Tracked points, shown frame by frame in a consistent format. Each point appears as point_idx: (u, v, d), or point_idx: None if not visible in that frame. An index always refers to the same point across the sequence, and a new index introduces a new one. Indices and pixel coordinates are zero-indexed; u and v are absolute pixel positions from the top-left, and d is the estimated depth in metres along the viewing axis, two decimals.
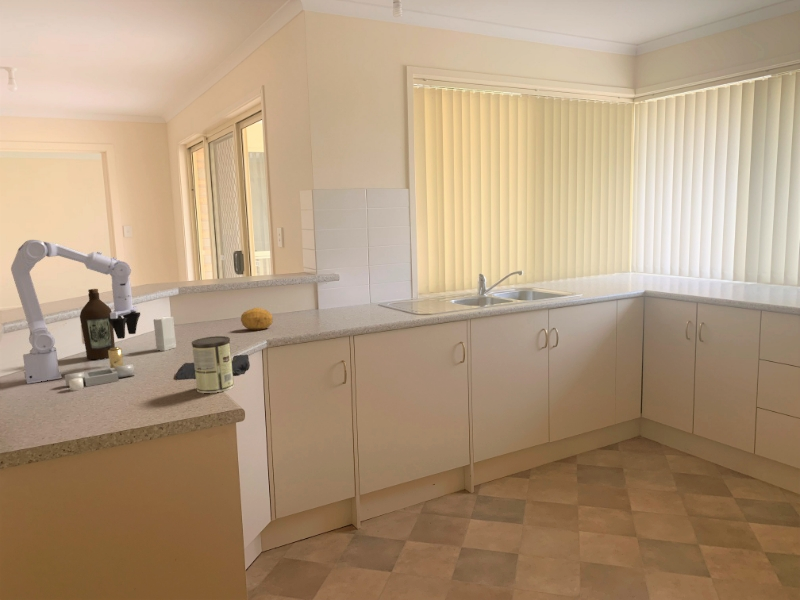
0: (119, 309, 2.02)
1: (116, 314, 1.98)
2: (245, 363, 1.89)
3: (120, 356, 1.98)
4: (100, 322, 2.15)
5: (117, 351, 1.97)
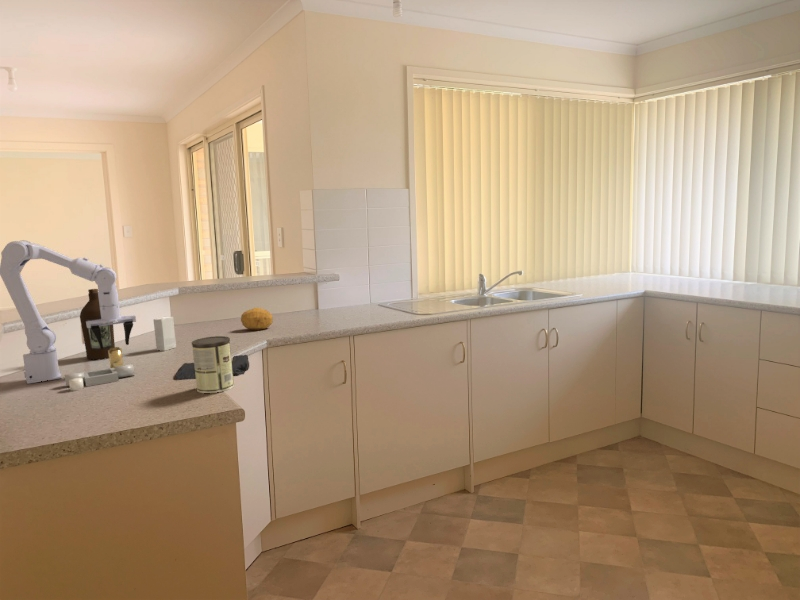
0: (101, 318, 1.95)
1: (88, 324, 1.93)
2: (244, 363, 1.89)
3: (120, 356, 1.98)
4: None
5: (117, 351, 1.97)
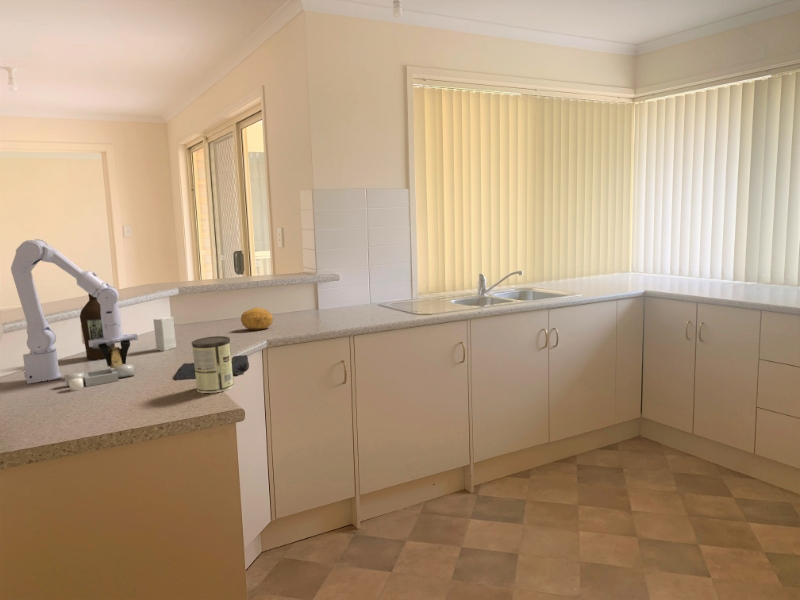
0: None
1: (90, 342, 1.94)
2: (244, 364, 1.89)
3: (120, 356, 1.98)
4: (100, 322, 2.15)
5: (117, 351, 1.97)
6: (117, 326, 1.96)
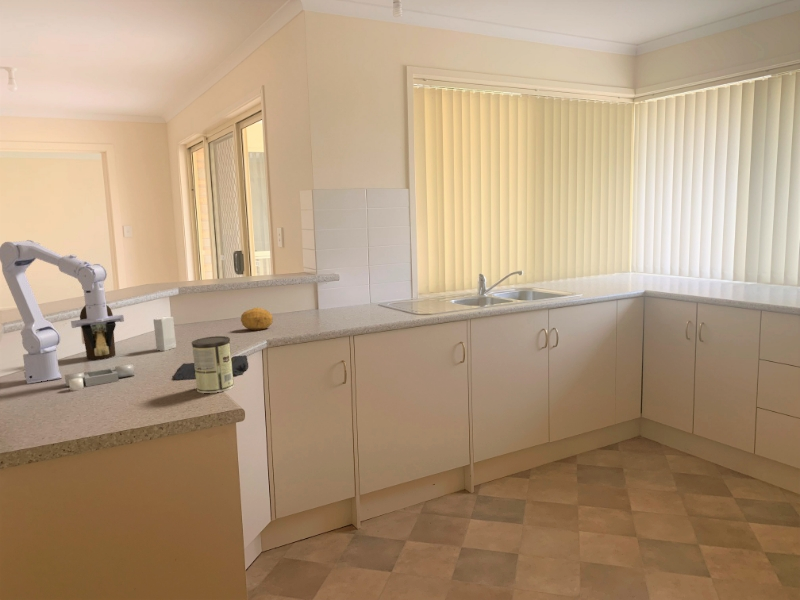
0: (87, 318, 1.86)
1: (73, 323, 1.83)
2: (243, 364, 1.88)
3: (104, 339, 1.88)
4: None
5: (101, 334, 1.87)
6: (101, 306, 1.85)
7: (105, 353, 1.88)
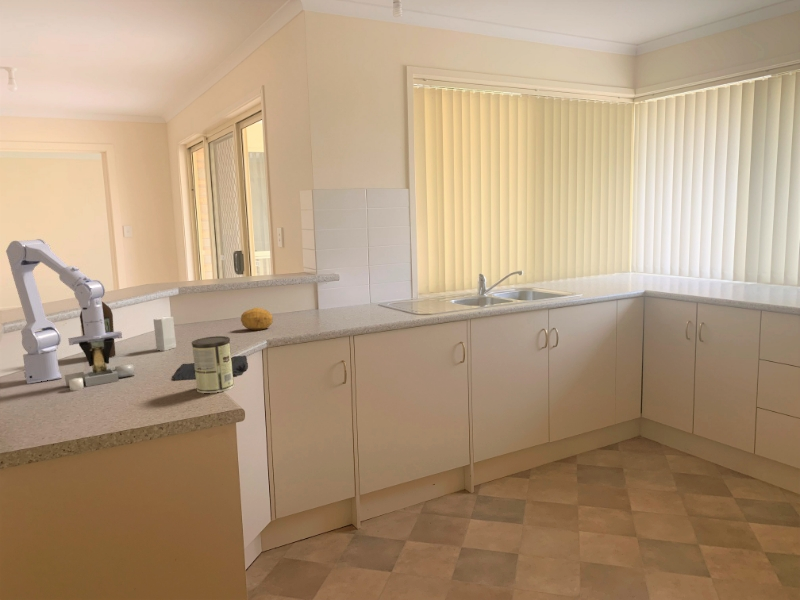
0: (84, 335, 1.83)
1: (70, 341, 1.81)
2: (243, 364, 1.88)
3: (102, 356, 1.85)
4: None
5: (99, 351, 1.84)
6: (99, 323, 1.83)
7: (103, 370, 1.86)
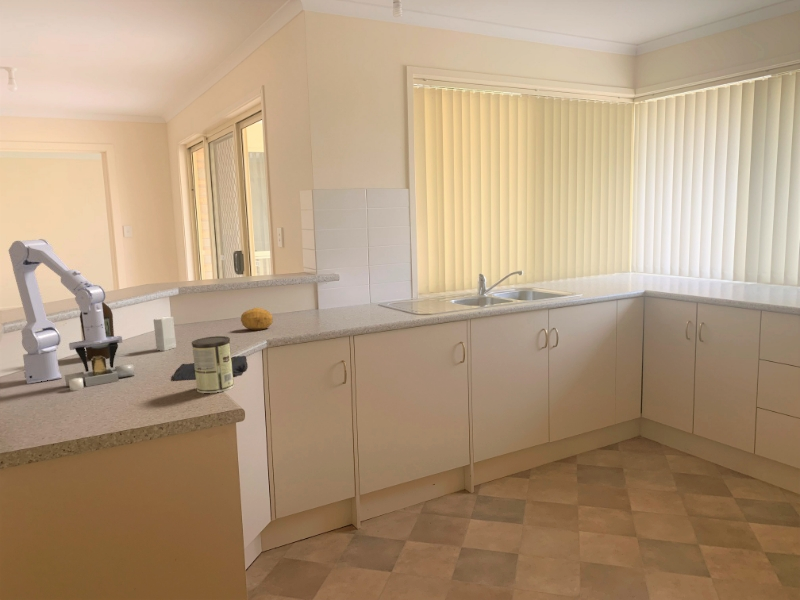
0: (85, 339, 1.84)
1: (71, 345, 1.81)
2: (242, 364, 1.88)
3: (103, 366, 1.86)
4: None
5: (100, 360, 1.85)
6: (100, 328, 1.83)
7: None
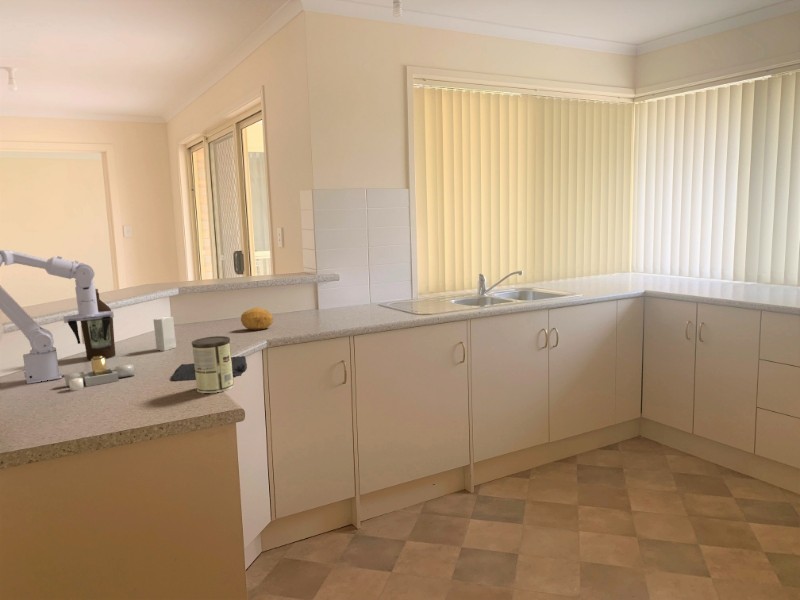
0: None
1: (65, 319, 1.94)
2: (242, 365, 1.88)
3: (103, 366, 1.86)
4: (100, 322, 2.15)
5: (100, 360, 1.85)
6: (92, 302, 1.96)
7: None
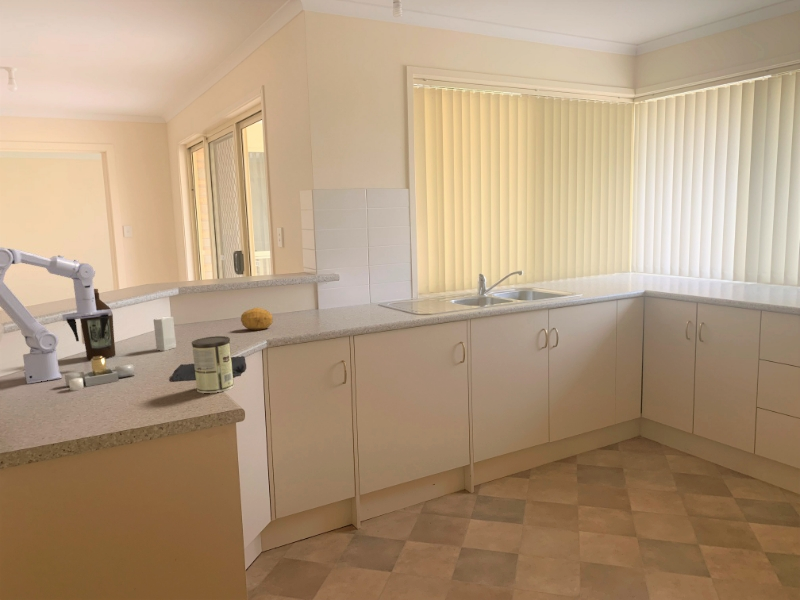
0: (77, 312, 2.00)
1: (64, 317, 1.98)
2: (241, 365, 1.87)
3: (103, 366, 1.86)
4: None
5: (100, 360, 1.85)
6: (90, 301, 2.00)
7: None
